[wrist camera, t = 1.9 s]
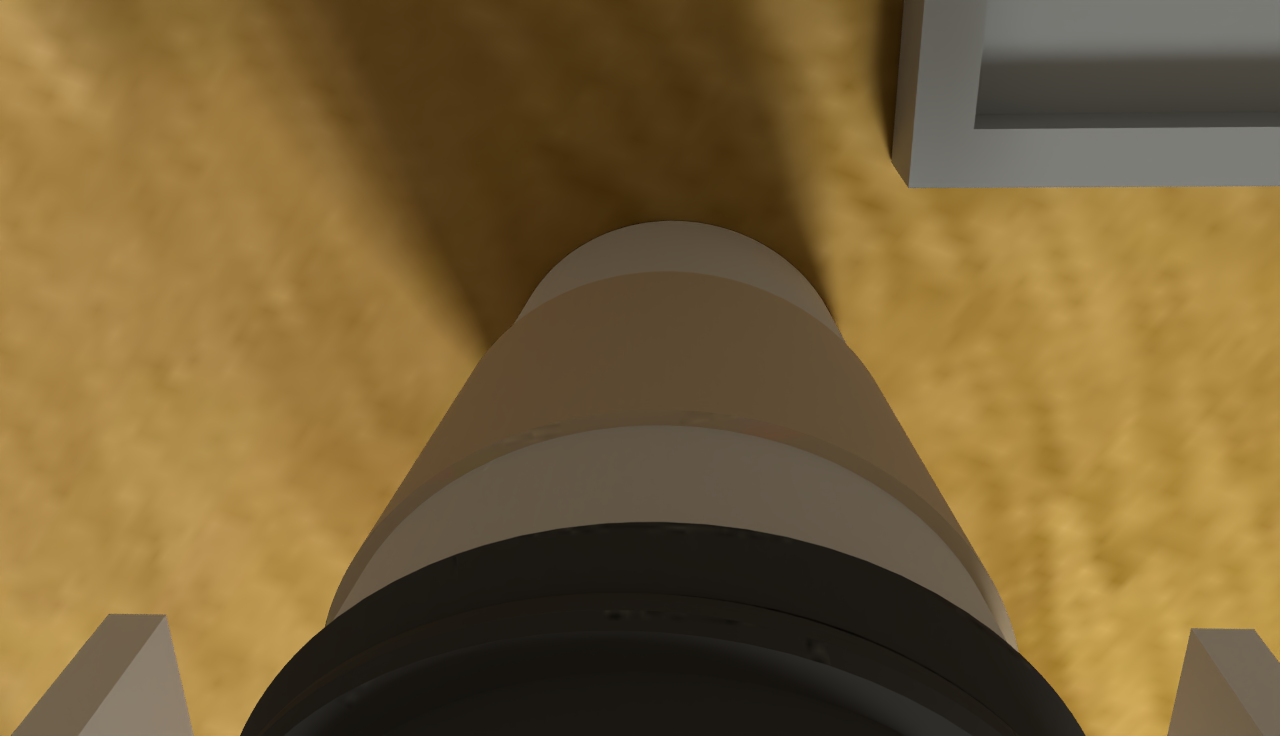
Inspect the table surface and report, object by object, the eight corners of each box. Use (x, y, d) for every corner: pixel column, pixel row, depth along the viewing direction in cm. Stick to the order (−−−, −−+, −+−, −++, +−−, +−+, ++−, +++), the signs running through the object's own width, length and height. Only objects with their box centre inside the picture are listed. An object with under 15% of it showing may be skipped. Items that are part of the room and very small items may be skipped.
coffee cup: (620, 65, 20) (462, 490, 6) (995, 334, 22) (1496, 1111, 8) (379, 422, 23) (-65, 1207, 10) (723, 629, 25) (758, 1535, 11)
